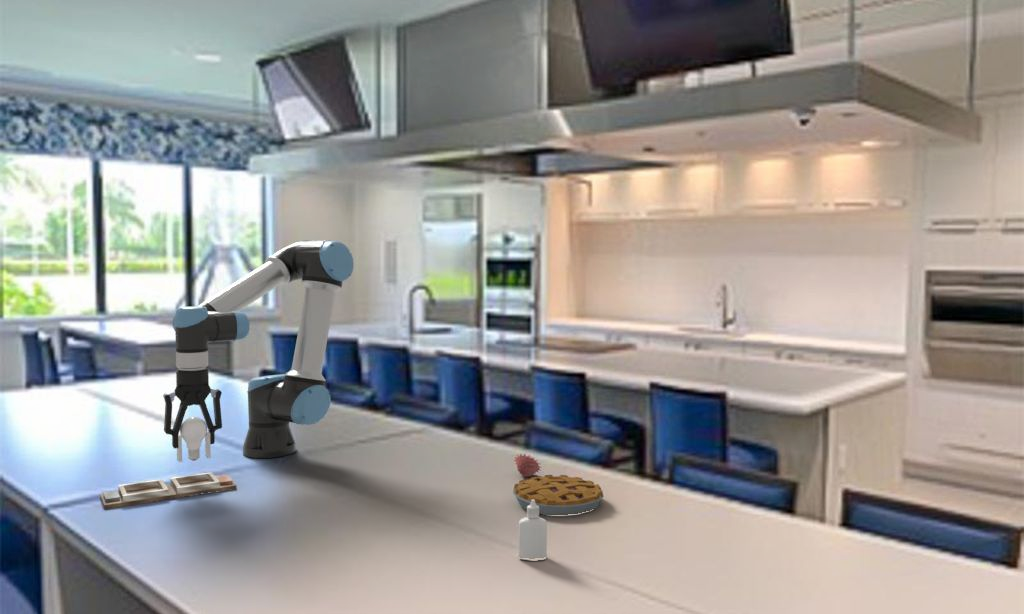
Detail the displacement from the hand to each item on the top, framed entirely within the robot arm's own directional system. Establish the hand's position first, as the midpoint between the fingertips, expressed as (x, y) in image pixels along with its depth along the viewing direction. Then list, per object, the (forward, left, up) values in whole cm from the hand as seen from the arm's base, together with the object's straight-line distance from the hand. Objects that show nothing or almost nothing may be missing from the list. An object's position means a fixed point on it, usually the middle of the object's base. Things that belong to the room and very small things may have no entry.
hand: (193, 458), depth 199 cm
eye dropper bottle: (-49, +81, -8) cm, 95 cm away
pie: (-73, +56, -8) cm, 92 cm away
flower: (-79, +33, -8) cm, 86 cm away
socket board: (+6, 0, -8) cm, 10 cm away
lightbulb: (0, 0, -1) cm, 1 cm away
